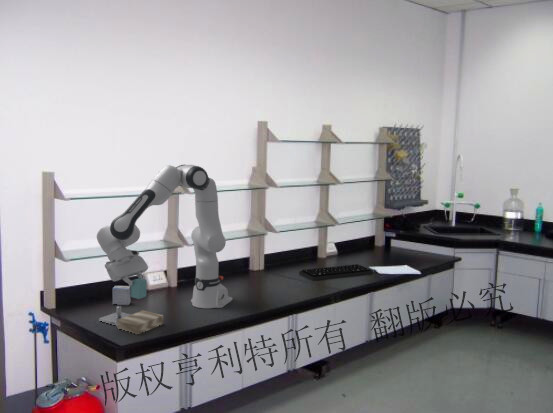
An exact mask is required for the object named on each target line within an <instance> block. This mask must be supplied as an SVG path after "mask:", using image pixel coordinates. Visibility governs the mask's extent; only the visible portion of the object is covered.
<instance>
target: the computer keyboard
mask: <svg viewBox="0 0 553 413" xmlns="http://www.w3.org/2000/svg"><path fill="white" fill-rule="evenodd" d="M298 274H299V275H300V277H304V278H306V279H307V280H310V281H312V282H315V281H323V280H324V281H325V280H333V279H342V278H343V279H344V278H351V277H361V276H370V275H371V276H373V275H374V271H373V270H372V269H370V268H369V267H365V266H364V265H361V264H358V263H357V264H349V265H341V266H340V265H336V266H329V267H327V266H326V267H318V268H316V267H315V268H307V269H302V270H299V272H298Z"/></svg>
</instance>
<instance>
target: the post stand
mask: <svg viewBox="0 0 553 413" xmlns="http://www.w3.org/2000/svg"><path fill="white" fill-rule="evenodd" d="M115 308H116V312H112V313H111V314H108V315H105V316H101V317H99V318H98V322H99V321H102V322H106V323H109V324H108V325H110V324H112V325H111V326H113V325H116V326H115V327H117V320H119V319H121V318H124V317H127V316H129V315H132V314H131V313H128V312H127V313H126V312H123V311H122V305H115ZM102 322H101V323H102ZM106 323H105V324H106Z"/></svg>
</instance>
